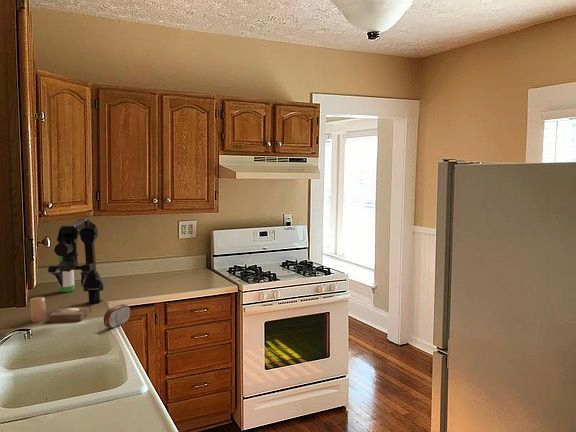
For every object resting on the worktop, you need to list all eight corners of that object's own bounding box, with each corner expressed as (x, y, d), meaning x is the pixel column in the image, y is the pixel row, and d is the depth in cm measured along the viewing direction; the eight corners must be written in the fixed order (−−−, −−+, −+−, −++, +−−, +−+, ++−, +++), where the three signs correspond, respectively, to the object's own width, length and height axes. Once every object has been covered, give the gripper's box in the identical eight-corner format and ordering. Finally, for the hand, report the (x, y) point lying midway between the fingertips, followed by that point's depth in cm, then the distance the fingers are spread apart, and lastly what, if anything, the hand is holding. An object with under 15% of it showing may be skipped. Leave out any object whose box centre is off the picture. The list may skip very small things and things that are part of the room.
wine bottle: (77, 290, 287) (74, 238, 285) (67, 293, 280) (64, 240, 278) (67, 289, 290) (64, 237, 288) (56, 292, 283) (53, 239, 281)
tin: (126, 320, 226) (126, 301, 226) (132, 320, 225) (131, 302, 225) (103, 330, 213) (102, 310, 212) (109, 330, 211) (108, 311, 211)
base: (61, 313, 239) (60, 306, 239) (91, 312, 240) (90, 306, 240) (48, 322, 225) (48, 315, 225) (80, 321, 226) (80, 314, 226)
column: (35, 318, 232) (33, 297, 231) (48, 318, 232) (47, 296, 231) (29, 322, 226) (27, 300, 225) (42, 321, 226) (41, 300, 225)
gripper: (41, 256, 220) (43, 291, 222) (84, 255, 221) (86, 290, 223) (52, 252, 231) (54, 285, 233) (93, 251, 232) (95, 284, 234)
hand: (72, 286), depth 230 cm, fingers open, 9 cm apart
